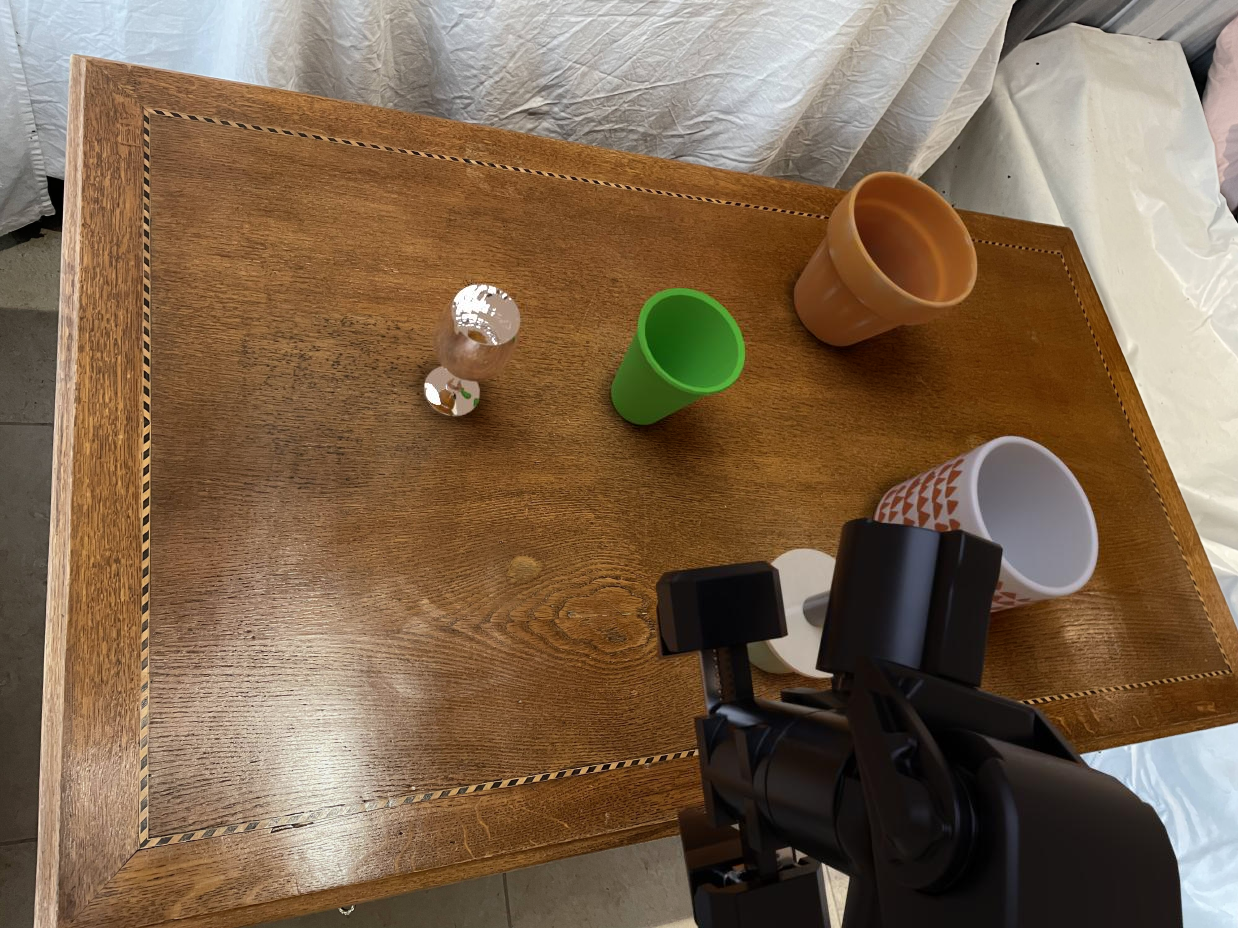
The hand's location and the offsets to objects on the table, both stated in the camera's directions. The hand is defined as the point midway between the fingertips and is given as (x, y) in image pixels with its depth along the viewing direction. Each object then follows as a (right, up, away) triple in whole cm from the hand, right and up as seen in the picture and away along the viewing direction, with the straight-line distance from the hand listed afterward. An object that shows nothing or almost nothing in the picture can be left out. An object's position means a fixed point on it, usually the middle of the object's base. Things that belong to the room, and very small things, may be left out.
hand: (675, 732), depth 47 cm
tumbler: (+10, +2, +19) cm, 22 cm away
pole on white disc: (+12, +4, +15) cm, 19 cm away
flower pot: (+18, +32, +35) cm, 51 cm away
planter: (+26, +8, +29) cm, 40 cm away
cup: (-2, +22, +22) cm, 31 cm away
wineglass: (-17, +22, +16) cm, 32 cm away
